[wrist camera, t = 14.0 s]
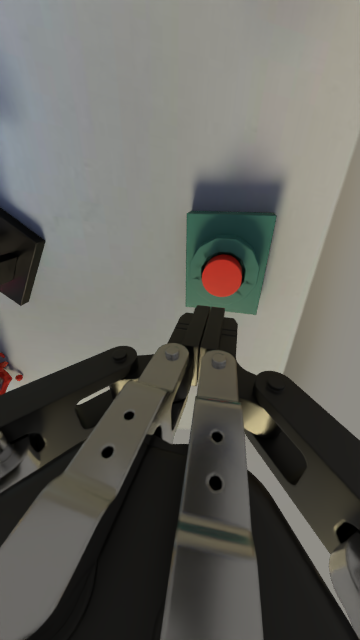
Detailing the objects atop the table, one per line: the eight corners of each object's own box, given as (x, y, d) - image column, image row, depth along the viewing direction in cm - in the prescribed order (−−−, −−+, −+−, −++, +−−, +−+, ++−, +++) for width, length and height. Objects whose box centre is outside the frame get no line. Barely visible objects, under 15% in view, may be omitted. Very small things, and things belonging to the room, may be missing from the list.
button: (205, 252, 21) (202, 257, 19) (244, 255, 20) (244, 260, 19) (203, 288, 23) (200, 295, 21) (239, 291, 22) (238, 299, 21)
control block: (191, 210, 23) (182, 215, 19) (274, 212, 21) (279, 218, 18) (189, 298, 28) (181, 314, 25) (255, 305, 26) (256, 323, 23)
